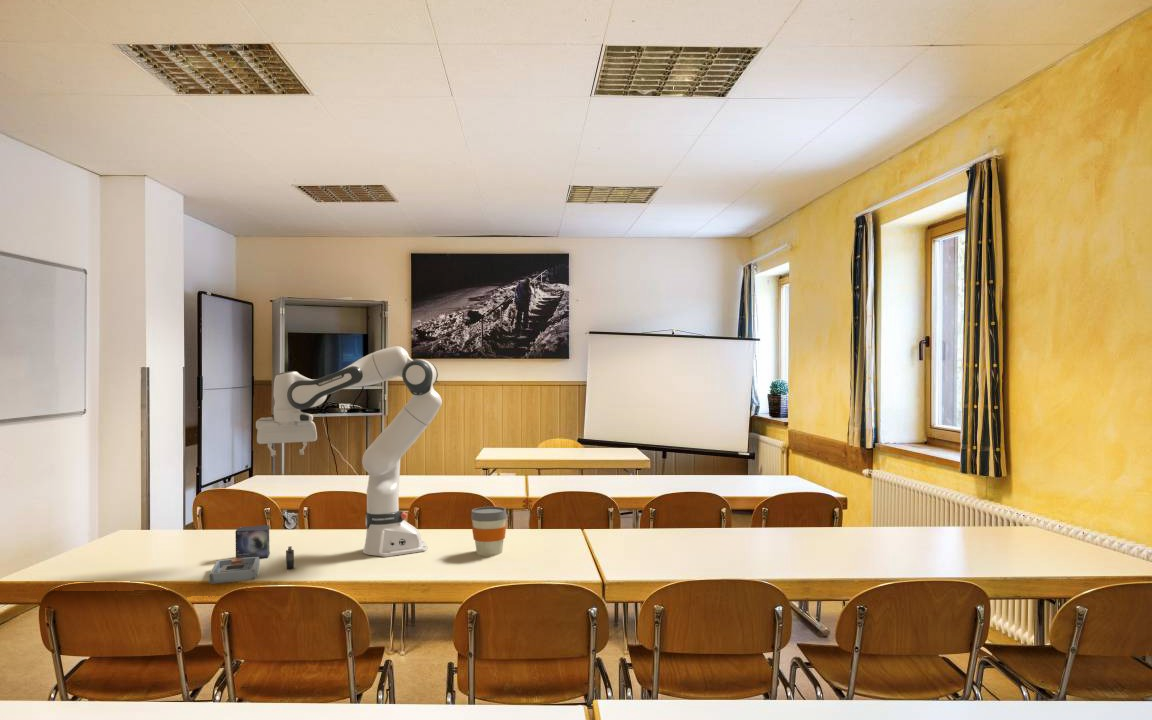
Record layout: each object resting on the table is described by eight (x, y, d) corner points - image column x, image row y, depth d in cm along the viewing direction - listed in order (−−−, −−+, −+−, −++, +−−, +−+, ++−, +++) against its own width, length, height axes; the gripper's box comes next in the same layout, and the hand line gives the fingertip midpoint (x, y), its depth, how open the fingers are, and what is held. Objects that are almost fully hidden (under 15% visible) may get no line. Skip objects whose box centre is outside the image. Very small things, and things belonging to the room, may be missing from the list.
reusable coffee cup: (501, 557, 257) (500, 513, 258) (466, 556, 260) (465, 513, 260) (511, 548, 270) (511, 506, 270) (478, 547, 272) (477, 506, 272)
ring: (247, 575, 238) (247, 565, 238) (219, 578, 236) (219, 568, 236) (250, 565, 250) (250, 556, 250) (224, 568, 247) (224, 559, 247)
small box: (235, 561, 259) (234, 530, 259) (238, 556, 266) (237, 526, 266) (267, 558, 262) (267, 528, 262) (270, 554, 268) (269, 524, 268)
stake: (294, 567, 250) (293, 546, 250) (293, 569, 247) (293, 548, 247) (286, 567, 249) (286, 546, 249) (286, 570, 246) (285, 548, 246)
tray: (259, 565, 253) (259, 556, 253) (255, 579, 237) (255, 569, 237) (217, 569, 249) (216, 560, 249) (209, 583, 232) (209, 574, 232)
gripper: (254, 418, 263) (255, 457, 262) (316, 416, 269) (317, 454, 269) (256, 417, 269) (256, 455, 268) (316, 415, 275) (317, 452, 275)
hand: (287, 455), depth 269 cm, fingers open, 8 cm apart
